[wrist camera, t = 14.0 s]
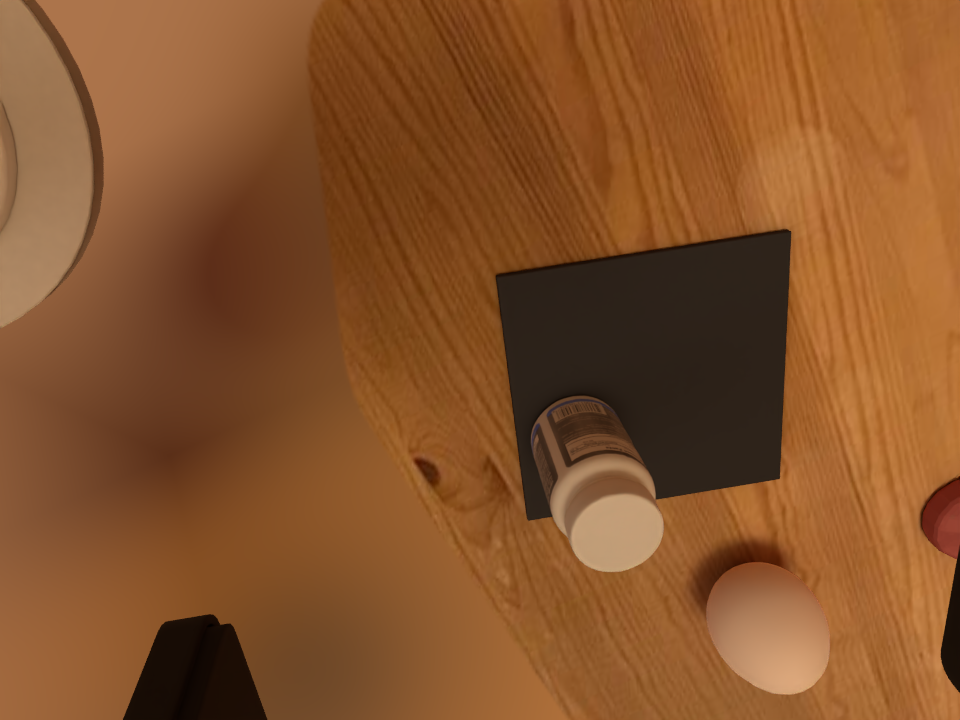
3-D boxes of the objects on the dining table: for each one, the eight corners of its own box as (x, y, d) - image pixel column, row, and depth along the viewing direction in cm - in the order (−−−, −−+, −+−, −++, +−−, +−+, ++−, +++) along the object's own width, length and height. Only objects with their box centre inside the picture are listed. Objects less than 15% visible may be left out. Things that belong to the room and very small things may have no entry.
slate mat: (526, 516, 41) (527, 521, 41) (495, 274, 35) (496, 277, 35) (776, 475, 41) (779, 479, 41) (787, 229, 36) (791, 231, 35)
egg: (810, 566, 44) (884, 667, 38) (738, 632, 46) (797, 741, 39) (739, 520, 43) (804, 618, 36) (668, 591, 44) (716, 697, 37)
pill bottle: (584, 486, 40) (626, 596, 32) (511, 448, 39) (538, 553, 31) (638, 419, 39) (696, 518, 31) (565, 376, 37) (608, 469, 30)
